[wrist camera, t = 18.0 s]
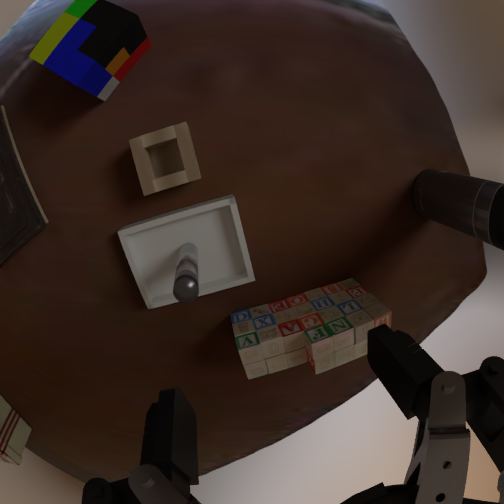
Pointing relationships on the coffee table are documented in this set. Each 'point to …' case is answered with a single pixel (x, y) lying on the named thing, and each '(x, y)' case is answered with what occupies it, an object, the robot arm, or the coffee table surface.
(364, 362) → the coffee table surface
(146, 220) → the tray
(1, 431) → the gift box
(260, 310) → the stack of blocks
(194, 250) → the cylinder
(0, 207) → the hardcover book
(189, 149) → the maple bore block
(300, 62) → the coffee table surface
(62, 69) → the puzzle toy
